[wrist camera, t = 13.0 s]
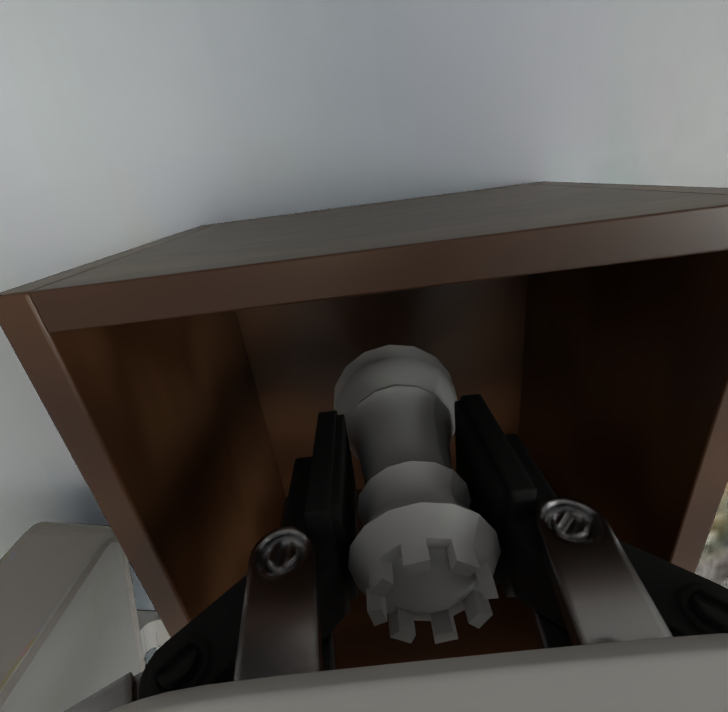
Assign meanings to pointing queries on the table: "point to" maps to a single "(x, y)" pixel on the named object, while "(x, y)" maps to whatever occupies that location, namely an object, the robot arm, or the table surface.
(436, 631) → the rook chess piece
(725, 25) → the table surface
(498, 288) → the chest
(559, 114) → the table surface
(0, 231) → the table surface
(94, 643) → the network device
